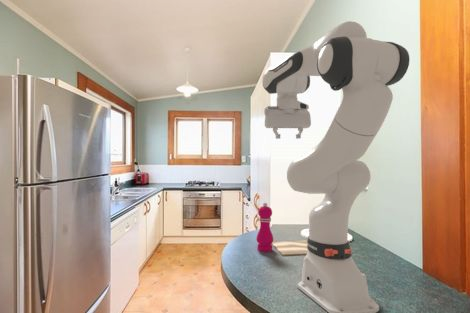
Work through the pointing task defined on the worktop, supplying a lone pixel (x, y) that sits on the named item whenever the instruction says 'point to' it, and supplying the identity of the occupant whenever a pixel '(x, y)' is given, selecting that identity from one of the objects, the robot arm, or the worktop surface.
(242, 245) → the worktop surface
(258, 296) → the worktop surface
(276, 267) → the worktop surface
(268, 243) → the pepper mill
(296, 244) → the wooden board
